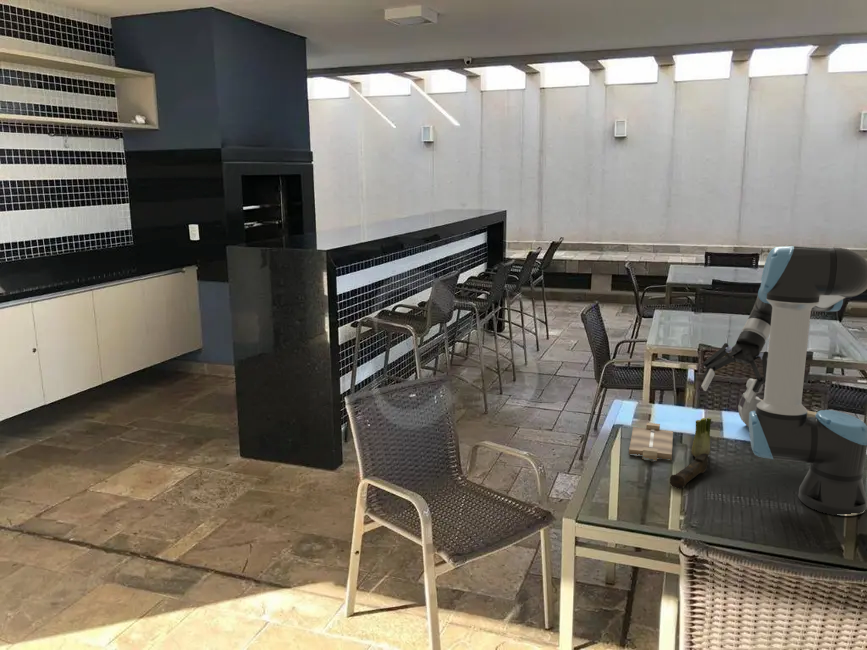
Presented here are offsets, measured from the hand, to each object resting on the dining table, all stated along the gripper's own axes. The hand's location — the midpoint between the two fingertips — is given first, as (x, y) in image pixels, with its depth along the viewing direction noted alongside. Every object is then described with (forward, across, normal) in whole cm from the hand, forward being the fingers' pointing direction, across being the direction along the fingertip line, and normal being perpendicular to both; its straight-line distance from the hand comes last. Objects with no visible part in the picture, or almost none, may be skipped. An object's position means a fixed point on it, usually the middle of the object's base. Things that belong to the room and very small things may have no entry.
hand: (724, 394), depth 209 cm
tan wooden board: (+23, +14, 0) cm, 27 cm away
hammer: (-8, -7, -32) cm, 34 cm away
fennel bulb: (+20, 0, -4) cm, 20 cm away
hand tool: (+30, -5, +6) cm, 31 cm away
